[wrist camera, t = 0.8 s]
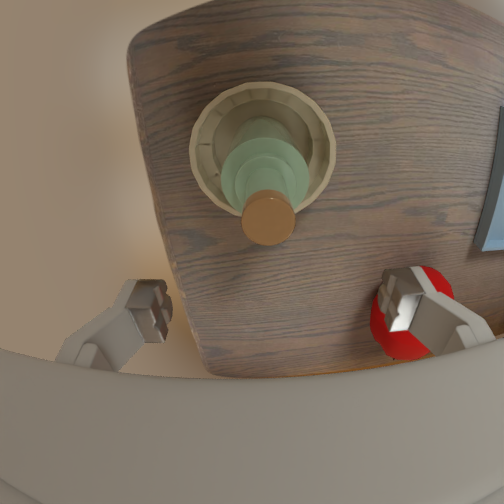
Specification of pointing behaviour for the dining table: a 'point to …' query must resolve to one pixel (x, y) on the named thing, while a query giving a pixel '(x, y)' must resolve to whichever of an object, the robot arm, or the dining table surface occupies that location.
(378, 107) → the dining table surface
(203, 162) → the bowl
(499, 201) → the tray
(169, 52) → the dining table surface
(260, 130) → the bottle
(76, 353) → the robot arm
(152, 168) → the dining table surface
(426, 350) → the tomato
